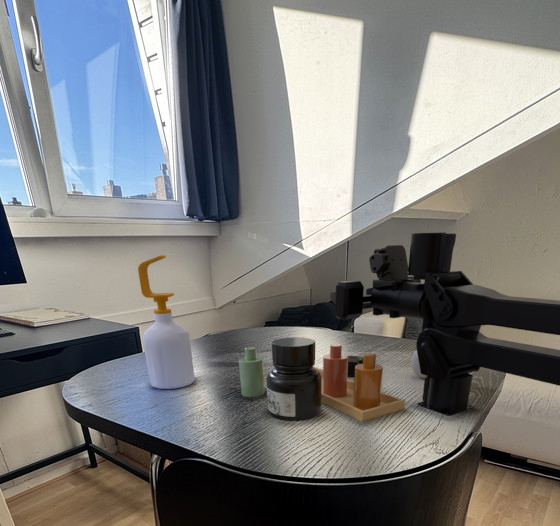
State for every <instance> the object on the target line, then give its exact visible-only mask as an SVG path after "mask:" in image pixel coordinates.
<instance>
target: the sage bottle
mask: <svg viewBox="0 0 560 526" xmlns="http://www.w3.org/2000/svg"><path fill="white" fill-rule="evenodd" d="M244 355H245V356H243V357H240V358H239V359H238V367H239V368H238V369H239V380H240V381H239V382H240V393H241V396H243V397H244V398H245V397H246V398H258V397H262V396H263V395H264V394H265V373H264V358H263V357H261V356H257V348H256V347H255V346H247V347H245V348H244Z"/></svg>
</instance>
